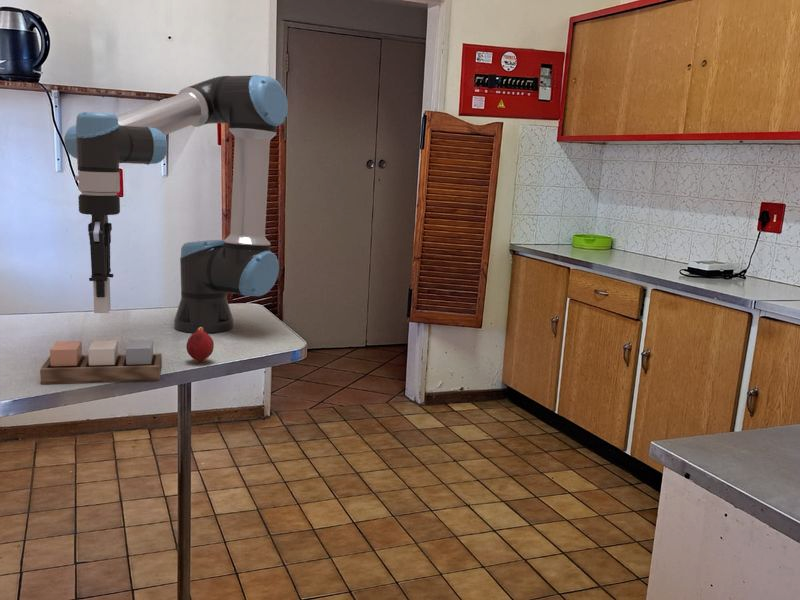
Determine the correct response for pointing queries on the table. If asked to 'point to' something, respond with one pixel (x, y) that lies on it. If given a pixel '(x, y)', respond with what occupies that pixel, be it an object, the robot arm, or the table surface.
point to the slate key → (139, 352)
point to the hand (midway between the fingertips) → (102, 311)
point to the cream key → (103, 352)
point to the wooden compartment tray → (101, 371)
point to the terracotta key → (66, 353)
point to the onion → (200, 345)
